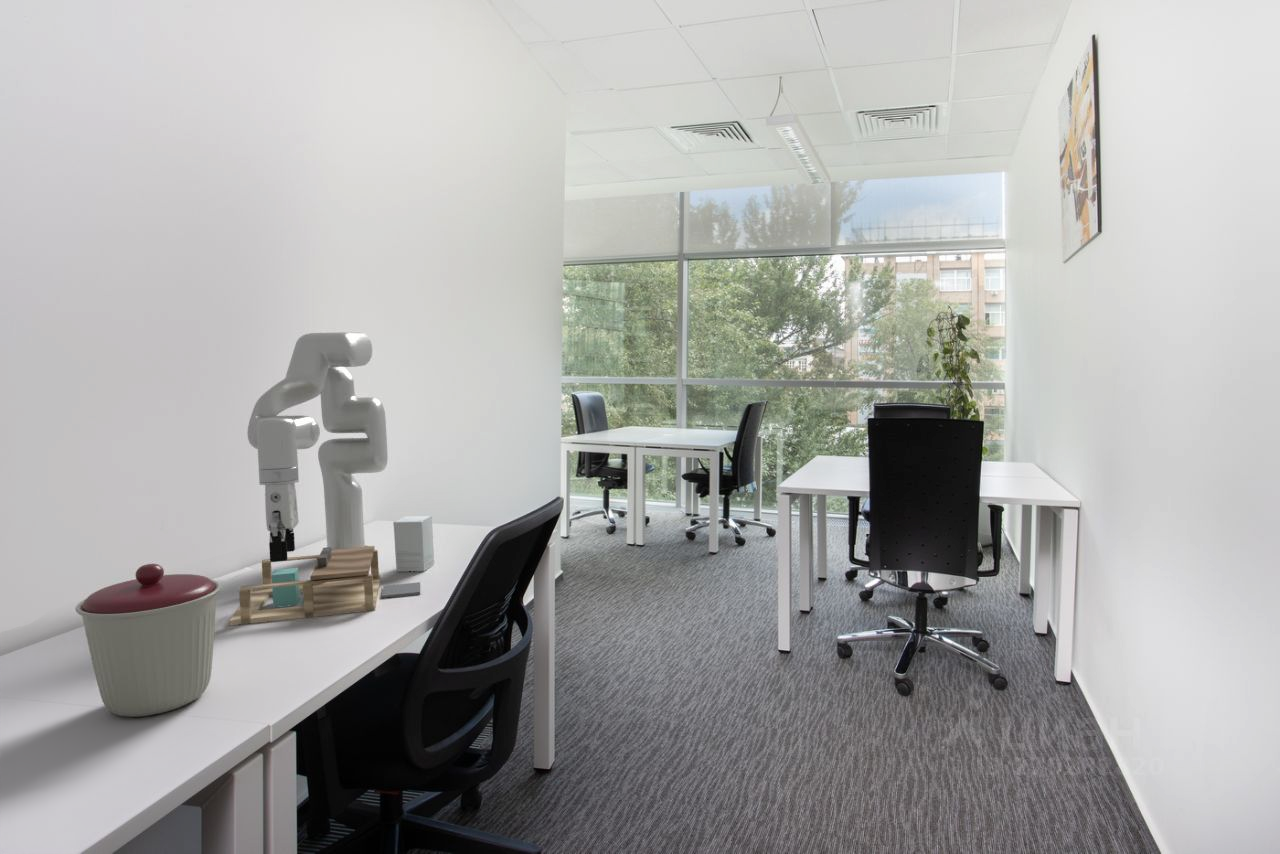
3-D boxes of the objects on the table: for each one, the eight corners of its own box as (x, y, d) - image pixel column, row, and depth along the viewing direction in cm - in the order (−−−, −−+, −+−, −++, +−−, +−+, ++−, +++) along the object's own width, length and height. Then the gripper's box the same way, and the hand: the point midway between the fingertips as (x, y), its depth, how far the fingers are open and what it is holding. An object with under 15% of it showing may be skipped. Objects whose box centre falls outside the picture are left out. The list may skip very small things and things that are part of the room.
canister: (54, 719, 107) (42, 575, 106) (173, 671, 124) (164, 546, 122) (142, 739, 101) (130, 586, 99) (254, 685, 118) (246, 554, 116)
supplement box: (435, 564, 190) (433, 515, 189) (424, 572, 183) (421, 521, 182) (407, 564, 191) (405, 515, 190) (395, 572, 184) (392, 521, 183)
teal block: (277, 601, 162) (275, 569, 161) (299, 599, 163) (298, 567, 163) (273, 607, 157) (271, 575, 157) (296, 605, 159) (294, 572, 158)
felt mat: (383, 588, 170) (383, 585, 170) (420, 584, 172) (419, 582, 172) (381, 598, 162) (381, 595, 162) (420, 594, 164) (420, 591, 164)
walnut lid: (324, 553, 173) (323, 541, 173) (374, 549, 176) (374, 537, 176) (310, 580, 150) (309, 566, 150) (368, 574, 153) (367, 561, 153)
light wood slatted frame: (254, 591, 169) (252, 560, 169) (380, 579, 177) (378, 549, 176) (229, 625, 146) (227, 589, 146) (375, 610, 154) (373, 575, 154)
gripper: (291, 479, 151) (295, 563, 152) (304, 471, 167) (307, 546, 168) (250, 481, 149) (255, 566, 150) (267, 473, 165) (271, 549, 166)
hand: (282, 556), depth 159 cm, fingers open, 9 cm apart
